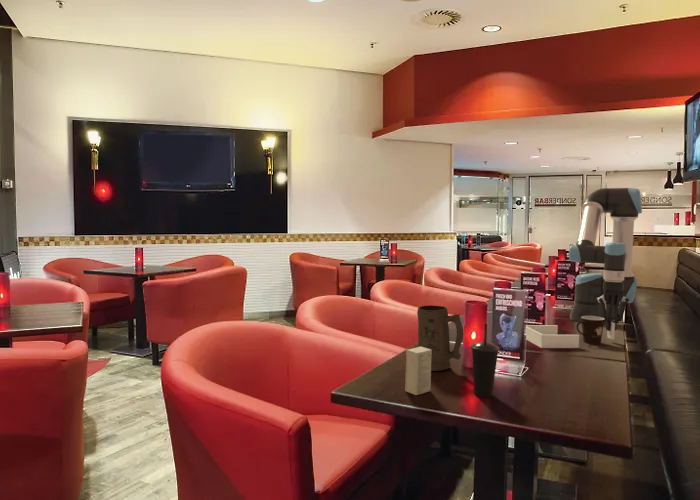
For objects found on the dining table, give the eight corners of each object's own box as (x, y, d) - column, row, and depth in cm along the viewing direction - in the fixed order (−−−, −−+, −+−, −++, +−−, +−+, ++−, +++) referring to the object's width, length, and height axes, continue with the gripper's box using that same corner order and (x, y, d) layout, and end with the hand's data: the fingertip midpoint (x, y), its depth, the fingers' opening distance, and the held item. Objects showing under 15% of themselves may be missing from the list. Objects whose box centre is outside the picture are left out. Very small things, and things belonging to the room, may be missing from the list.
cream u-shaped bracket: (556, 336, 218) (556, 325, 218) (578, 347, 200) (579, 335, 200) (521, 336, 217) (522, 325, 216) (541, 348, 199) (542, 335, 199)
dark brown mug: (599, 340, 214) (600, 316, 213) (607, 345, 205) (608, 320, 204) (569, 339, 215) (570, 315, 214) (576, 344, 206) (577, 319, 206)
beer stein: (411, 369, 167) (413, 308, 166) (419, 361, 177) (421, 303, 176) (460, 375, 162) (462, 312, 161) (464, 366, 172) (467, 307, 171)
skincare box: (419, 387, 150) (421, 346, 150) (431, 391, 147) (432, 349, 146) (404, 391, 146) (405, 349, 146) (415, 396, 143) (416, 352, 142)
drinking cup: (480, 400, 140) (483, 327, 139) (463, 391, 147) (466, 322, 146) (503, 397, 143) (506, 326, 142) (485, 388, 150) (488, 320, 149)
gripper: (603, 281, 205) (600, 340, 206) (634, 282, 206) (631, 340, 208) (593, 279, 212) (590, 336, 214) (622, 279, 214) (619, 336, 215)
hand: (610, 338), depth 211 cm, fingers closed
